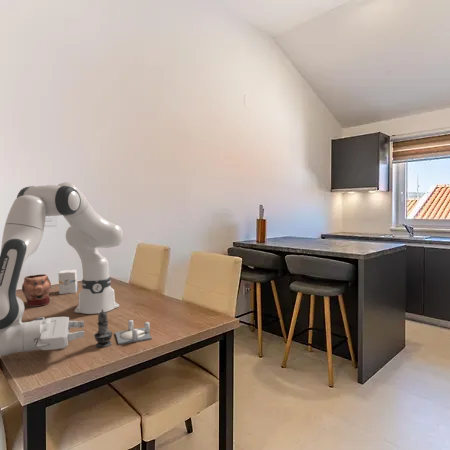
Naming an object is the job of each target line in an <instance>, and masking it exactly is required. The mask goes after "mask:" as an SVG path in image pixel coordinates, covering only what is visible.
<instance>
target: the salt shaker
mask: <svg viewBox="0 0 450 450" xmlns="http://www.w3.org/2000/svg"><path fill="white" fill-rule="evenodd" d="M101 311H102V312H100V313H97V314H98V315H97V317H98V320H97V321H98V322H97V326H98V330H97V332H96V333H95V334H93V336H94V338H95V341H96V342H97V343H95V346H94V347H96V348H99V349H102V348H108V347H110V346H111V345H113V342H112V341H111V339H112V335H113V332H112V331H111V330H109V326H108V324H109V321H108V313H107V312H104V310H103V309H102V310H101Z"/></svg>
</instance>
